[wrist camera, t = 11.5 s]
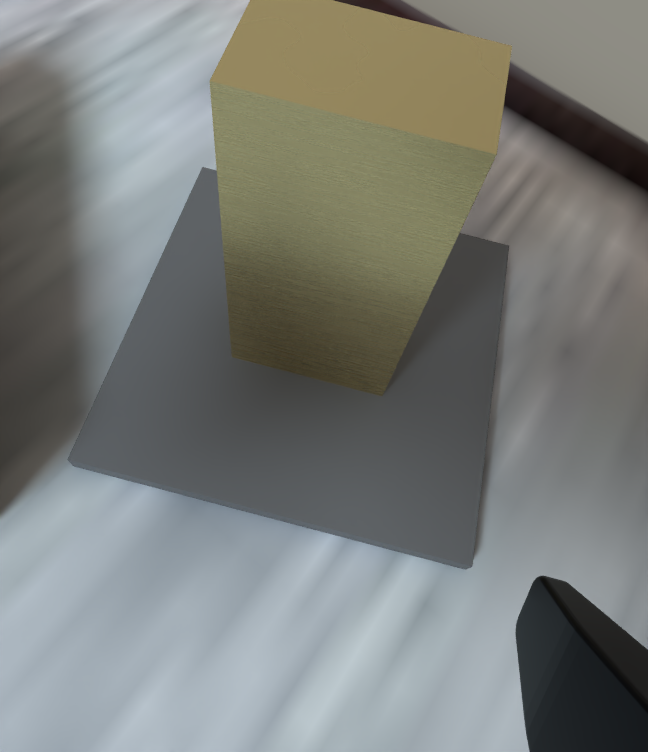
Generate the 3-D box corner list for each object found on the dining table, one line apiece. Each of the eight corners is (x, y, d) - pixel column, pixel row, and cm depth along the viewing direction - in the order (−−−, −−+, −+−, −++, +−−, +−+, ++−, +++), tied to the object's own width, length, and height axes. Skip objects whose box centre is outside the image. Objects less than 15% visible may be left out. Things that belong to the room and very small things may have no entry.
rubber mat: (465, 569, 17) (472, 566, 17) (73, 465, 17) (67, 459, 17) (503, 255, 23) (509, 245, 22) (203, 178, 23) (202, 166, 22)
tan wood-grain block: (381, 396, 19) (497, 154, 10) (231, 357, 19) (210, 81, 10) (398, 319, 20) (512, 45, 11) (257, 283, 20) (259, -19, 11)
